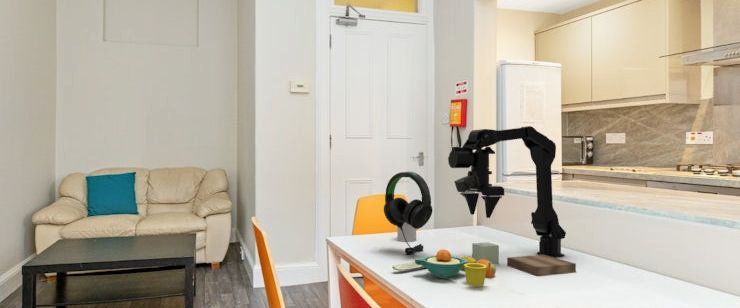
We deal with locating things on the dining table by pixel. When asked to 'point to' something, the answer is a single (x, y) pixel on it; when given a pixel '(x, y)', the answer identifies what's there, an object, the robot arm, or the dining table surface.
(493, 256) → the sage block
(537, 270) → the walnut plinth
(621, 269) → the dining table surface
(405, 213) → the headset
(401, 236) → the grey block
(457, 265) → the toy juicer set
